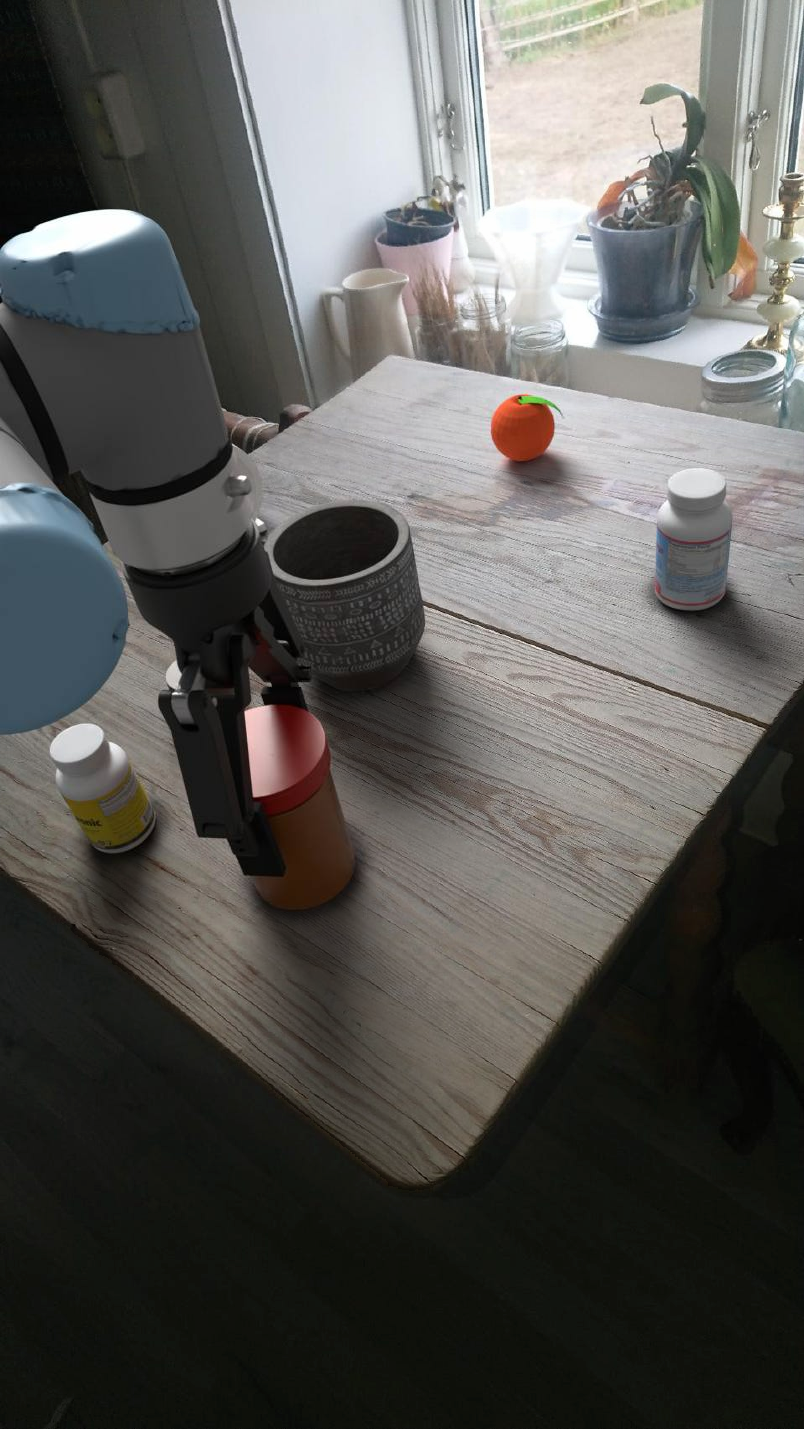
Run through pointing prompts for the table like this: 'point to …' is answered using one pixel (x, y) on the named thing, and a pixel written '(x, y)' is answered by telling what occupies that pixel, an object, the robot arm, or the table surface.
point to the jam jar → (310, 852)
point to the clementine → (523, 427)
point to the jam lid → (285, 755)
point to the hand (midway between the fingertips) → (284, 810)
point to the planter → (350, 590)
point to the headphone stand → (253, 474)
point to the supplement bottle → (101, 789)
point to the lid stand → (175, 675)
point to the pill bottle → (693, 540)
